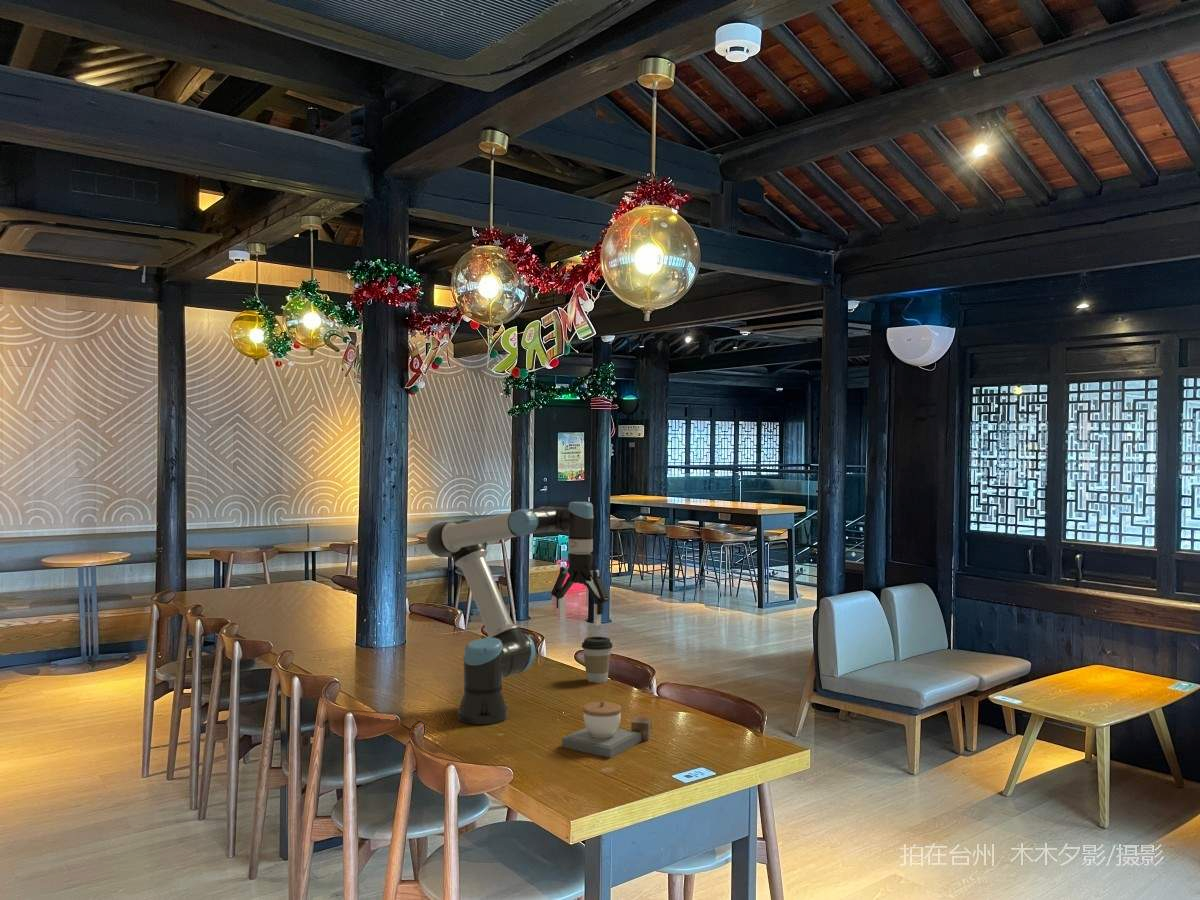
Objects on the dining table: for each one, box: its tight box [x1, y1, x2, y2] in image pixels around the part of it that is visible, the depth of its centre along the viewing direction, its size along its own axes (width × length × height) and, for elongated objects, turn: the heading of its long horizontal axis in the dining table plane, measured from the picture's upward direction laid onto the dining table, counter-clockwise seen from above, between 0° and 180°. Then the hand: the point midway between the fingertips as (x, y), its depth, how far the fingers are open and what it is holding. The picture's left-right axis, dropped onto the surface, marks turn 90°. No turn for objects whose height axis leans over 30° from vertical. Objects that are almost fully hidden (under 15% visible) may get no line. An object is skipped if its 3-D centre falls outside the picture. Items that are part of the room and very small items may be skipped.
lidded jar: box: [582, 700, 622, 738], centre depth 235 cm, size 11×11×9 cm
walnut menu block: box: [630, 716, 653, 742], centre depth 241 cm, size 5×5×5 cm
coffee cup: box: [581, 636, 613, 684], centre depth 303 cm, size 11×11×15 cm
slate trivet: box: [561, 726, 642, 759], centre depth 235 cm, size 16×16×3 cm
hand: (579, 622), depth 256 cm, fingers open, 13 cm apart
